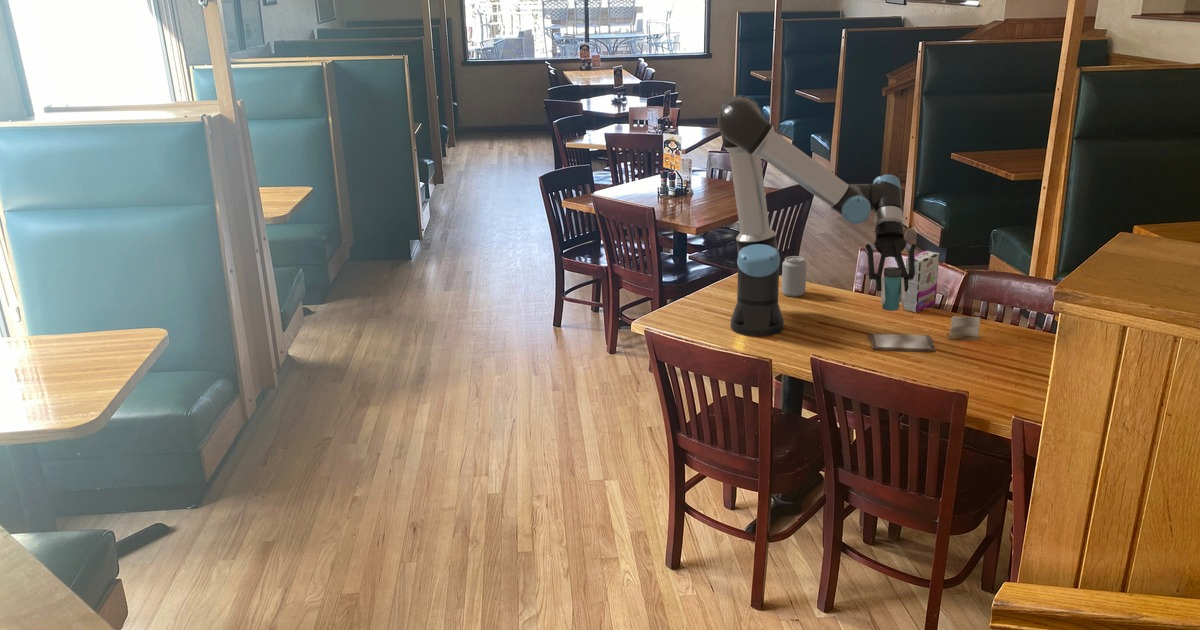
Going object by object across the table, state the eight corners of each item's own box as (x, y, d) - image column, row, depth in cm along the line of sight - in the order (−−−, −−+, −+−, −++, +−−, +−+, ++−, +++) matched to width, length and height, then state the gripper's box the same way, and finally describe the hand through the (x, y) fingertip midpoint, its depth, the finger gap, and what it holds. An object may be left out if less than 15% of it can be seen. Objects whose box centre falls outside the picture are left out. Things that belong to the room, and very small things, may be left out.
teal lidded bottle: (882, 310, 236) (885, 272, 232) (880, 305, 240) (883, 267, 237) (900, 311, 235) (903, 272, 231) (898, 305, 239) (900, 267, 236)
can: (781, 297, 278) (783, 261, 274) (781, 290, 285) (782, 254, 281) (805, 297, 276) (807, 261, 272) (804, 290, 283) (806, 255, 279)
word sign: (948, 339, 239) (951, 317, 237) (947, 337, 240) (950, 315, 238) (979, 340, 237) (982, 318, 235) (978, 338, 239) (981, 316, 237)
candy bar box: (920, 301, 270) (925, 250, 264) (935, 304, 266) (940, 252, 260) (901, 309, 263) (905, 257, 257) (916, 313, 259) (921, 260, 254)
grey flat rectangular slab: (872, 350, 234) (873, 344, 233) (868, 335, 244) (869, 330, 243) (935, 352, 231) (936, 346, 230) (928, 337, 241) (929, 331, 240)
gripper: (919, 233, 245) (924, 307, 235) (855, 233, 248) (858, 307, 238) (924, 219, 238) (929, 295, 228) (858, 219, 241) (860, 295, 231)
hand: (893, 301), depth 233 cm, fingers closed on teal lidded bottle, 4 cm apart
